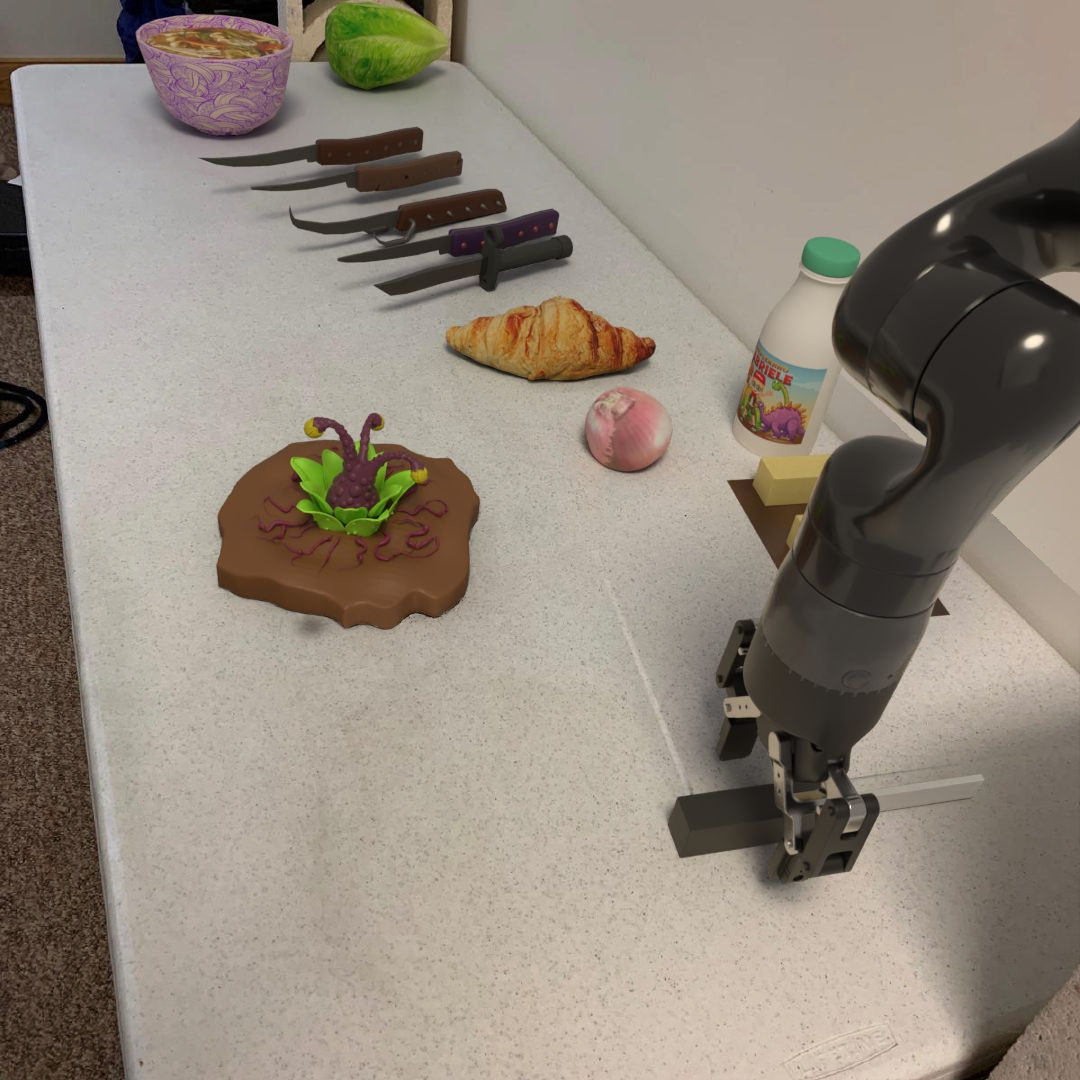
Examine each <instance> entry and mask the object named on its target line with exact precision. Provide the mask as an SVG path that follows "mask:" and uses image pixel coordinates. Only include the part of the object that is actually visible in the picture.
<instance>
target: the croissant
mask: <svg viewBox="0 0 1080 1080" xmlns="http://www.w3.org/2000/svg"><path fill="white" fill-rule="evenodd" d="M444 334H445V342H446V343H447V344H448V345H449V346H450V347H451V348H452V349H453V350H455V351H457V352H459V354H462V355H463V356H467V357H469V358H471V360H473V361H475V362H477V363H480V364H482V365H485V366H490V367H493V368H495V369H497V370H499V371H502V372H506V373H510V374H512V375H515V376H518V377H522V378H525V379H528V380H529V381H535V380H536V381H537V380H542V379H545V380H550V381H571V380H580V379H584V378H589V377H592V376H598V375H603V374H609V373H610V374H611V373H615V372H619V371H623V370H628V369H631V368H634V367H635V366H637V365H639V364H641V363H643V362H645V361H646V360H648V359H650V358H651V357H652V356H653V355H654V354H655V352H656V349H657V345H656V342H655V339H653V338H651V337H649V336H645V337H641V336H638V335H637V334H635V332H634V331H633V330H631V329H629V328H626V327H624V326H614V325H612V324H611V323H610V322H609V321H608V320H607V319H605V318H604V317H603V316H601V315H599V314H596V313H594V311H593V310H586V309H585V308H584V306H582V304H580V302H579V301H577V300H576V299H574V298H569V297H564V296H561V295H559V296H558V295H557V296H553V297H551V298H548V299H545V300H543V301H542V302H541V303H540V304H539V305H536V306H534V305H522V306H517V307H513V308H509V310H507V311H506V312H505V313H503V314H497V315H495V316H494V315H493V316H479V317H478V318H475V319H473V320H471V321H469V322H467V323H466V324H465V325H464V326H463V325H462V326H461V325H455V326H450V327H448V329H447V330H446V331H445V333H444Z"/></svg>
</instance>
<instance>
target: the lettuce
mask: <svg viewBox="0 0 1080 1080" xmlns="http://www.w3.org/2000/svg"><path fill="white" fill-rule="evenodd" d="M449 41H450V40H449V38H448V37H447V35H446V34H445V32H443V31H442V30H441V29H440V28H439V27H437V26H436V25H435V24H434V23H432V22H431V21H429V20H427V18H425V17H423V16H420V15H418V14H417V13H414V12H412V11H410V10H407V9H404V8H401V7H397V6H394V5H389V4H388V5H387V4H381V3H376V2H370V1H365V2H364V1H363V2H349V1H340V2H338V4H337V5H335V7H334V8H333V9H332V10H331V11H330V12H329V13H328V14H327V16H326V19H325V24H324V45H325V51H326V57H327V60H328V63H329V66H330V68H331V70H332V72H333V73H335V74H336V75H337V76H338V77H339V78H340V79H341V80H343V81H344V82H345V83H346V84H349V85H352V86H354V87H357V88H360V89H362V90H365V91H368V90H372V89H375V88H379V87H382V86H387V85H392V84H395V83H396V84H397V83H399V82H404V81H406V80H408V79H410V78H413V77H414V76H416V75H418V74H420V73H421V72H422V71H423V70H425V69H426V68H427V67H428V66H430V65H431V64H432V63H433V62H435V61H437V60H438V59H439V58H440V57H442V56H443V55H444V54H446V52H447V51H448V50H449V48H450V42H449Z"/></svg>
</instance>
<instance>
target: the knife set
mask: <svg viewBox="0 0 1080 1080" xmlns="http://www.w3.org/2000/svg"><path fill="white" fill-rule="evenodd" d="M424 133H425V132H424V130H423V129H422V128H421V127H418V126H412V127H405V128H399V129H394V130H389V131H385V132H380V133H376V134H370V135H365V136H358V137H351V138H319V139H316V140H315V142H314V143H313V144H309V145H304V146H299V147H293V148H288V149H283V150H276V151H271V152H266V153H258V154H250V155H249V154H248V155H239V156H238V155H237V156H236V155H235V156H224V157H198V159H200V160H202V161H205V162H208V163H211V164H213V165H217V166H225V167H232V168H247V167H248V168H251V167H255V168H256V167H271V166H272V167H273V166H277V165H284V164H290V163H294V162H295V163H296V162H299V161H300V162H301V161H304V160H306V162H307V163H308V164H310V163H317V164H318V165H320V166H324V167H325V166H352V165H355V166H354V168H353V170H350V171H345V172H342V173H336V174H331V175H325V176H321V177H316V178H312V179H307V180H301V181H294V182H289V183H278V184H269V185H256V186H250V190H251V191H262V192H295V191H306V190H307V191H308V190H313V189H319V188H325V187H329V186H334V185H338V184H343V183H345V184H346V188H348V189H354V190H356V191H357V192H359V193H372V192H391V191H392V192H393V191H397V190H402V189H407V188H412V187H416V186H420V185H424V184H428V183H431V182H434V181H439V180H445V179H448V178H455V177H459V176H462V174H463V164H464V159H463V158H462V153H461V152H460V151H458V150H452V151H446V152H445V151H444V152H440V153H436V154H431V155H427V156H423V157H419V158H415V159H411V160H405V161H401V162H394V163H389V164H364V163H369V162H375V161H380V160H384V159H387V158H391V157H396V156H400V155H404V154H406V155H407V154H411V153H419V152H421V151H422V150H423V144H424ZM357 164H358V165H357ZM360 164H361V165H360ZM507 209H508V207H507V204H506V200H505V196H504V193H503V192H502V191H501V190H500V189H498V188H483V189H477V190H474V191H473V190H471V191H467V192H466V191H465V192H461V193H457V194H451V195H446V196H440V197H435V198H429V199H423V200H419V201H418V200H417V201H414V202H408V203H403V204H400V205H398V206H397V209H395V210H390V211H385V212H381V213H376V214H373V215H369V216H368V215H367V216H364V217H359V218H358V217H357V218H353V219H347V220H341V221H330V222H329V221H328V222H320V221H312V220H304V219H299V218H295V216H294V214H293V212H292V207H291V206H289V208H288V213H289V218H290V221H291V224H292V225H293V226H294V227H295V228H297V229H300V230H303V231H308V232H312V233H317V234H320V235H324V236H325V235H349V234H350V235H351V234H355V233H362V232H364V233H365V234H368V235H373V237H374V239H375V241H376V242H378V244H380V245H382V246H384V247H382V248H376V249H373V250H367V251H363V252H359V253H354V254H349V255H344V256H340V257H338V258H337V259H336V261H337V262H340V263H346V264H350V263H351V264H352V263H354V264H355V263H358V264H359V263H371V262H381V261H388V260H394V259H395V260H396V259H402V258H407V257H408V258H409V257H413V256H419V255H424V254H428V253H429V254H430V253H433V252H438V255H440V256H443V255H447V254H448V255H450V256H451V257H453V258H460V257H468V256H473V255H478V256H474V257H469V258H465V259H461V260H456V261H452V262H447V263H442V264H438V265H433V266H430V267H426V268H422V269H419V270H417V271H414V272H411V273H408V274H405V275H401V276H398V277H395V278H392V279H388V280H385V281H382V282H379V283H378V282H377V283H375V284H374V283H373V284H372V286H374V287H375V288H376V289H378V290H380V291H381V292H383V293H384V294H386V295H388V296H390V297H393V296H402V295H409V294H412V293H416V292H419V291H422V290H425V289H428V288H432V287H436V286H439V285H442V284H447V283H451V282H455V281H459V280H462V279H466V278H471V277H475V276H478V285H479V286H480V287H481V288H483V289H484V290H486V291H487V292H491V291H494V290H496V287H497V283H498V280H499V276H500V275H499V274H500V273H504V272H507V271H511V270H515V269H521V268H524V267H528V266H531V265H532V266H533V265H535V264H540V263H545V262H548V261H552V260H555V261H559V260H563V259H567V258H570V257H571V256H572V254H573V252H574V244H573V241H572V239H571V237H569V236H568V235H567V234H562V235H557V236H555V235H556V233H557V230H558V225H559V222H560V221H559V220H560V212H559V211H557V210H556V209H554V208H553V207H552V208H548V209H547V208H546V209H542V210H538V211H534V212H531V213H526V214H524V215H520V216H517V217H514V218H511V219H508V220H503V221H499V222H496V223H495V222H494V223H488V224H482V225H481V224H480V225H474V226H468V227H459V228H458V227H457V228H451V229H449V230H448V234H443V235H440V236H436V237H431V238H426V239H422V240H421V239H420V240H416V241H412V242H408V241H409V240H410V239H411V236H413V233H414V232H415V230H418V229H424V228H428V227H429V228H430V227H433V226H434V227H435V226H439V225H444V224H449V223H453V222H457V221H462V220H468V219H472V218H477V217H483V216H487V215H493V214H497V213H501V212H505V211H507ZM392 229H394V230H396V231H397V232H400V233H401V232H402V233H403V232H406V233H405V235H404V236H403V237H401V238H395V239H391V240H387V241H384V240H380V239H379V238H378V237H377V236H376V234H378V233H379V234H380V233H384V232H388V231H390V230H392ZM550 236H553V237H550ZM545 237H550V239H546V240H541V241H537V242H532V243H528V242H531V241H534V240H535V241H536V240H538V239H542V238H545ZM401 243H402V244H401ZM525 243H528V244H525ZM522 244H524V245H522Z"/></svg>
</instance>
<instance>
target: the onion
mask: <svg viewBox="0 0 1080 1080" xmlns="http://www.w3.org/2000/svg"><path fill="white" fill-rule="evenodd" d="M673 426H674V425H673V421H672V417H671V415H670V412H669V410H668V409H667V408H666V407H665V405H664V404H663V403H662V402H661V401H660V400H658V399H657V398H656V397H655V396H653V395H651V394H649V393H647V392H645V391H642V390H639V389H637V388H633V387H629V386H628V387H627V386H618V387H613V388H609V390H606V391H604V392H603V393H601V394H600V395H599V396H598V397H597V398H596V399H595V400H594V401H593V402H592V404H591V405H590V407H589V409H588V411H587V413H586V416H585V422H584V429H585V436H586V441H587V442H588V447H589V450H590V451H591V454H592V455H593V457H594V458H595V460H596V461H597V462H599V463H600V464H602V466H605V467H606V468H608V469H611V470H615V471H618V472H635V471H639V470H642V469H644V468H647V467H648V466H650V465H652V464H653V463H655V461H658V459H659V458H661V456H663V454H664V453H665V452H666V450H667V449H668V447H669V446H670V444H671V440H672V436H673V431H674V429H673V428H674V427H673Z"/></svg>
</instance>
